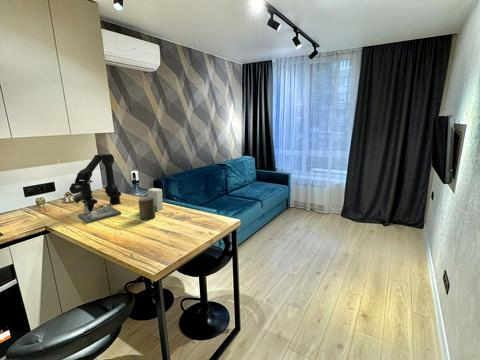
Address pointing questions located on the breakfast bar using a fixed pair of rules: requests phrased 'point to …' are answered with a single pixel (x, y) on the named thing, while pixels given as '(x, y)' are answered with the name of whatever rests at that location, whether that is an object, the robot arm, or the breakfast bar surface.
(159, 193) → the skincare box
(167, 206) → the breakfast bar surface
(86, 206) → the dial
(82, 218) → the console
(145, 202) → the pillar candle
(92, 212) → the fader
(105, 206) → the fader
